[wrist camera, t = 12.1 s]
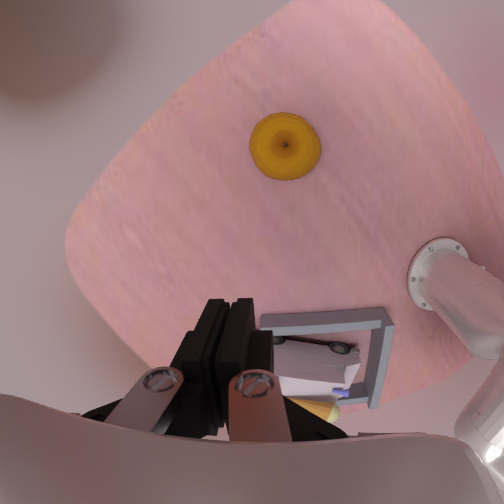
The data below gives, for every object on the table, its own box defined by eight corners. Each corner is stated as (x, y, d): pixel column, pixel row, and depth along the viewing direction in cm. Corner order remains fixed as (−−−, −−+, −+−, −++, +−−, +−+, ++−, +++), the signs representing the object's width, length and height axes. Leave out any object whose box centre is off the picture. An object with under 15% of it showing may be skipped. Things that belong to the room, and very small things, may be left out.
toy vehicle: (341, 379, 50) (354, 440, 36) (236, 364, 51) (223, 426, 36) (357, 339, 47) (380, 399, 33) (244, 321, 48) (231, 382, 33)
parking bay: (383, 306, 45) (394, 325, 39) (370, 387, 50) (377, 408, 44) (261, 314, 47) (258, 335, 41) (267, 395, 52) (265, 417, 47)
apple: (326, 138, 38) (338, 132, 30) (296, 189, 41) (301, 197, 33) (271, 108, 38) (269, 94, 29) (242, 160, 40) (233, 160, 32)
